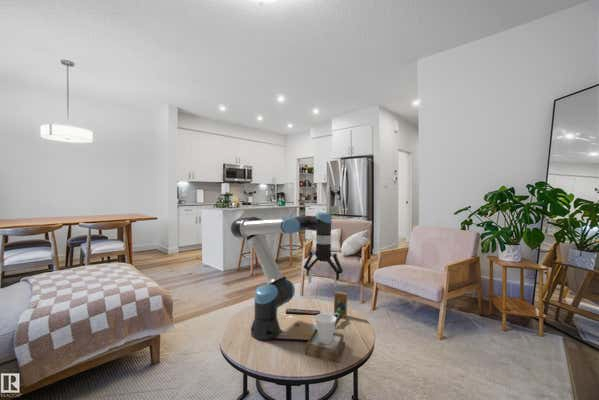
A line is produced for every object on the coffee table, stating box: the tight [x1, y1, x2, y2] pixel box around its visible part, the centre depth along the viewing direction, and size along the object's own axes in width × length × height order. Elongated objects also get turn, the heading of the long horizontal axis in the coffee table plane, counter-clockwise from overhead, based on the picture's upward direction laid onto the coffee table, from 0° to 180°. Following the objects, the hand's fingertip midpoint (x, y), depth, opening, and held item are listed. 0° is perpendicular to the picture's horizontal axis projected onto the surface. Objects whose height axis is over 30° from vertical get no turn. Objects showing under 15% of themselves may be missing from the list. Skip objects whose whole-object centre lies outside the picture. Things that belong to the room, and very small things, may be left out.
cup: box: [314, 312, 336, 345], centre depth 122 cm, size 10×10×11 cm
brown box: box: [303, 328, 346, 364], centre depth 122 cm, size 16×14×5 cm
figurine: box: [332, 291, 349, 326], centre depth 150 cm, size 14×18×8 cm
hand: (322, 284), depth 134 cm, fingers open, 13 cm apart
